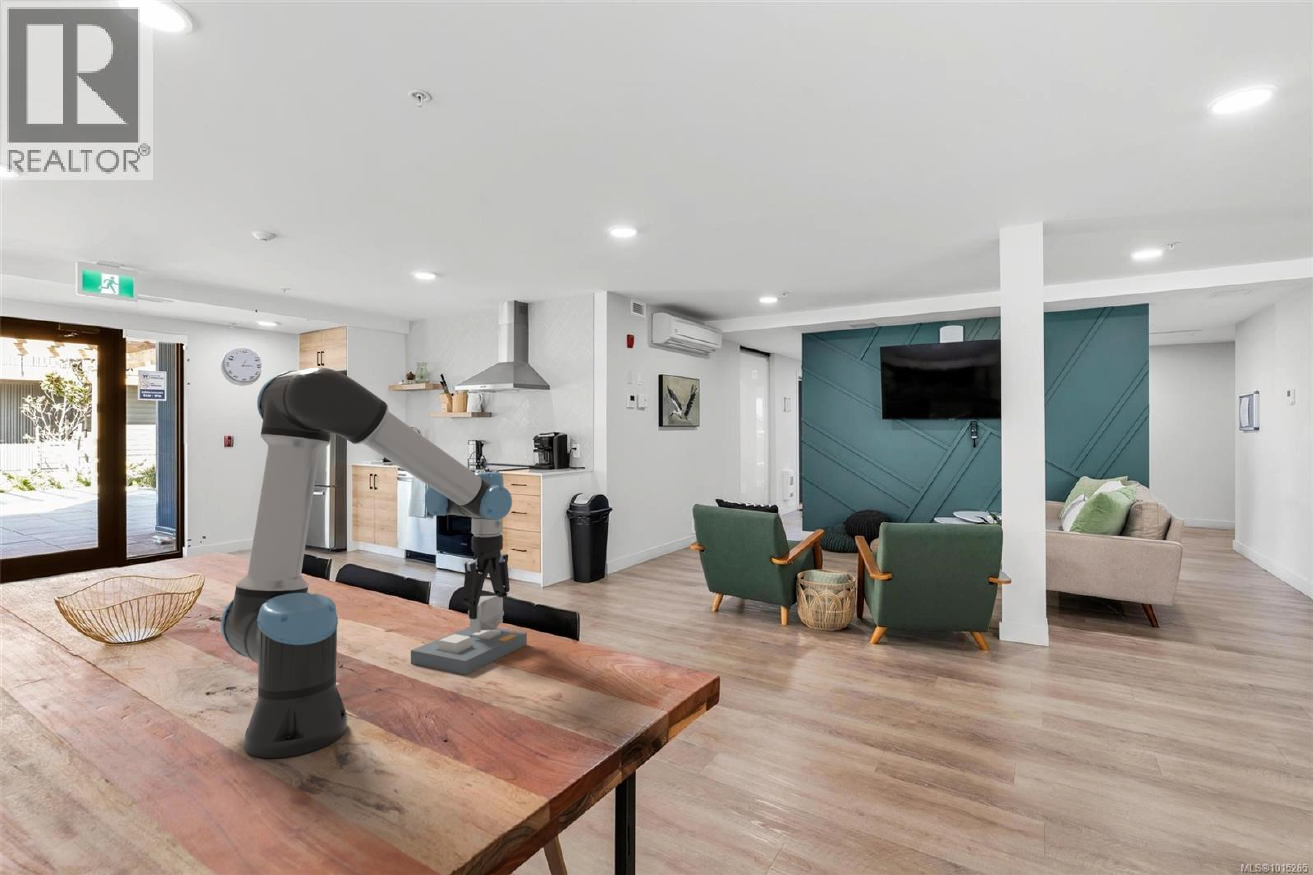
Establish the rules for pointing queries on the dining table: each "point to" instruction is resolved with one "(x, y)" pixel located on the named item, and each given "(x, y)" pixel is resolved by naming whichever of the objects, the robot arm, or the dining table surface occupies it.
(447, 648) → the button
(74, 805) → the dining table surface
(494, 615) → the die
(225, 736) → the dining table surface
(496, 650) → the breaker panel
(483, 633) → the tagged button
